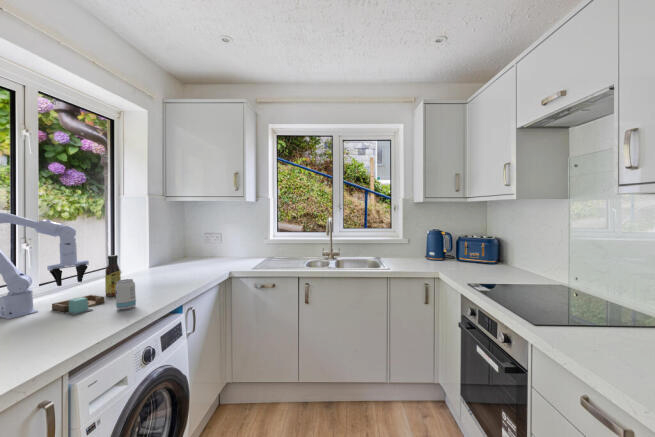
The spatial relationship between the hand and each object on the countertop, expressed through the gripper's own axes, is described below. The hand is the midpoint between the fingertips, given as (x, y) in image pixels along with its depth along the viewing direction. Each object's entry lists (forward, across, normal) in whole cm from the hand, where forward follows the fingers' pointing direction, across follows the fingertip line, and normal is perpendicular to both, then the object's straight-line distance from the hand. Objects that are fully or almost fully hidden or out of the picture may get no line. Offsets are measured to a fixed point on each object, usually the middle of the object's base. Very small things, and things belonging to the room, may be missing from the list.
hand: (69, 283), depth 136 cm
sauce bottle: (+10, +18, 0) cm, 21 cm away
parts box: (+10, +1, -4) cm, 11 cm away
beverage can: (+10, +7, -28) cm, 31 cm away
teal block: (+10, -4, -13) cm, 17 cm away
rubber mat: (+10, -4, -14) cm, 17 cm away
